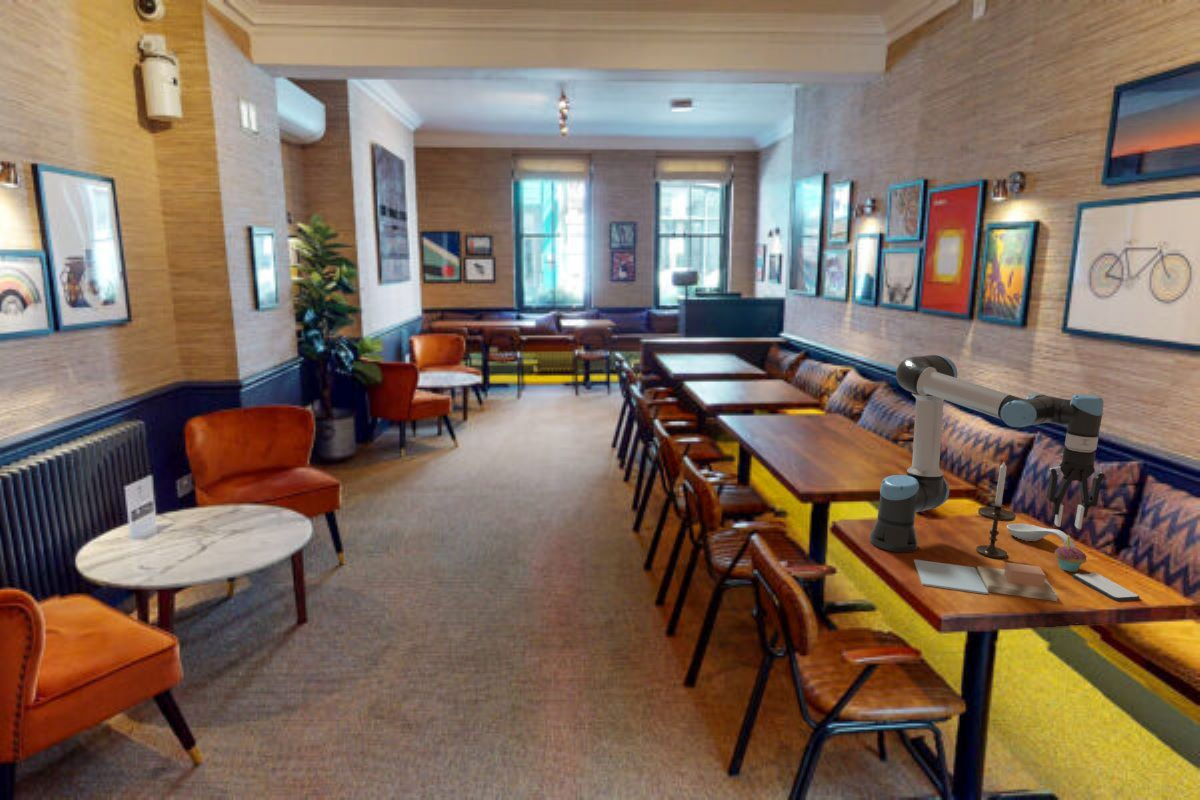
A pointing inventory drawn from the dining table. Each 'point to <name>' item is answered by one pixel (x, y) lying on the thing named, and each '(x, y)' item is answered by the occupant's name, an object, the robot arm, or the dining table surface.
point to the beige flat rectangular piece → (1013, 585)
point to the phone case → (1105, 586)
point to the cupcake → (1070, 557)
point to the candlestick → (996, 518)
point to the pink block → (1024, 574)
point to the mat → (950, 576)
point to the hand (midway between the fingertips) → (1067, 526)
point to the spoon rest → (1036, 533)
